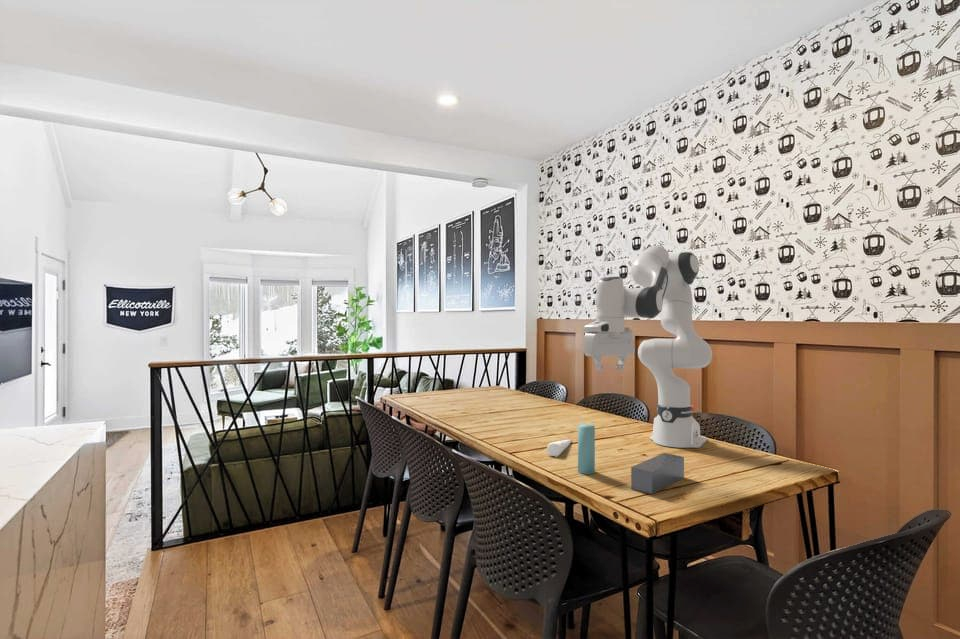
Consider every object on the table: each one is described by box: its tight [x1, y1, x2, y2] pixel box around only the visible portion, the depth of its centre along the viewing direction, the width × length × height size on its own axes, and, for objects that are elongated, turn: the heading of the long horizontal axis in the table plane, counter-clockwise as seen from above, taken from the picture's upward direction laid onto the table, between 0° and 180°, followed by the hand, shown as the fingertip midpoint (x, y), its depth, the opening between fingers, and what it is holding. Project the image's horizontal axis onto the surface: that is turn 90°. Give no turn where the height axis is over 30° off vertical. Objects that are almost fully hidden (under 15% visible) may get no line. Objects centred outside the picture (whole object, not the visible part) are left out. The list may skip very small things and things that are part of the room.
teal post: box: [577, 423, 596, 476], centre depth 148 cm, size 5×5×14 cm
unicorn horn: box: [546, 439, 573, 458], centre depth 175 cm, size 5×24×5 cm, turn 151°
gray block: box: [630, 452, 685, 495], centre depth 138 cm, size 20×6×6 cm, turn 134°
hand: (609, 370), depth 156 cm, fingers open, 8 cm apart
